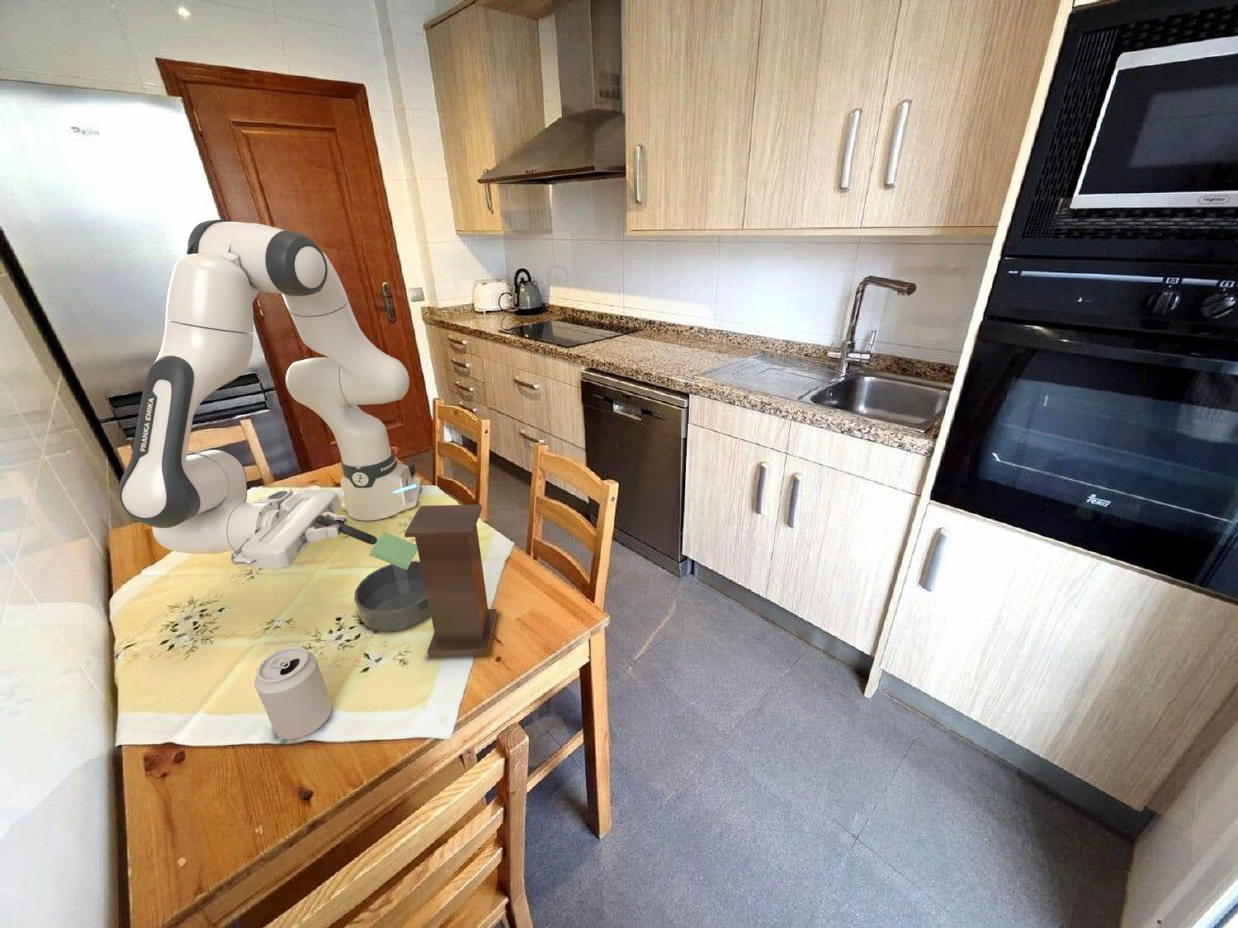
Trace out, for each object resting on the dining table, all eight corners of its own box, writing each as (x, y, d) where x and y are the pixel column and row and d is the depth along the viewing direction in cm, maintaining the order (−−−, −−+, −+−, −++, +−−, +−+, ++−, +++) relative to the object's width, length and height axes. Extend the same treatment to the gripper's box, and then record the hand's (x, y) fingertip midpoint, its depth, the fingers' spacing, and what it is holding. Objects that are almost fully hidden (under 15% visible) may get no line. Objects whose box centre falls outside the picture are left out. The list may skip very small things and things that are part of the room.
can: (308, 748, 71) (284, 688, 66) (263, 737, 72) (236, 679, 67) (344, 703, 78) (325, 646, 72) (302, 694, 79) (280, 637, 74)
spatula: (306, 530, 86) (308, 523, 85) (322, 511, 91) (325, 505, 91) (407, 570, 90) (410, 563, 90) (417, 550, 96) (420, 544, 95)
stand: (443, 616, 95) (422, 502, 84) (497, 614, 95) (482, 501, 84) (428, 658, 86) (402, 536, 75) (487, 656, 86) (470, 535, 75)
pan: (377, 579, 104) (372, 561, 102) (450, 577, 105) (447, 559, 103) (345, 633, 91) (340, 614, 89) (430, 630, 91) (426, 611, 89)
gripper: (217, 547, 78) (309, 545, 79) (288, 484, 96) (362, 483, 97) (230, 579, 81) (319, 577, 81) (296, 512, 99) (368, 511, 100)
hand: (342, 526), depth 89 cm, fingers closed on spatula, 1 cm apart
